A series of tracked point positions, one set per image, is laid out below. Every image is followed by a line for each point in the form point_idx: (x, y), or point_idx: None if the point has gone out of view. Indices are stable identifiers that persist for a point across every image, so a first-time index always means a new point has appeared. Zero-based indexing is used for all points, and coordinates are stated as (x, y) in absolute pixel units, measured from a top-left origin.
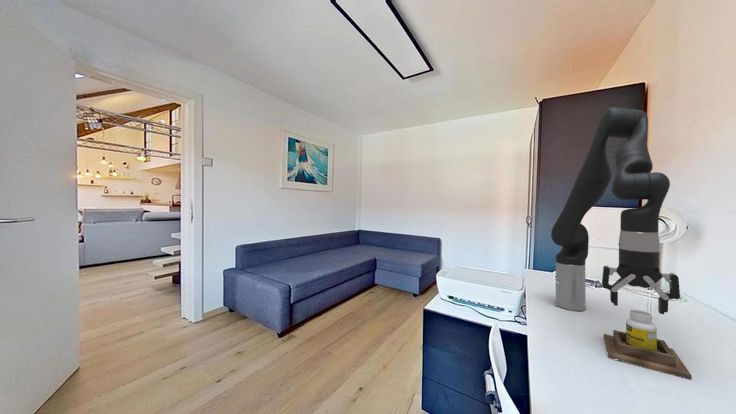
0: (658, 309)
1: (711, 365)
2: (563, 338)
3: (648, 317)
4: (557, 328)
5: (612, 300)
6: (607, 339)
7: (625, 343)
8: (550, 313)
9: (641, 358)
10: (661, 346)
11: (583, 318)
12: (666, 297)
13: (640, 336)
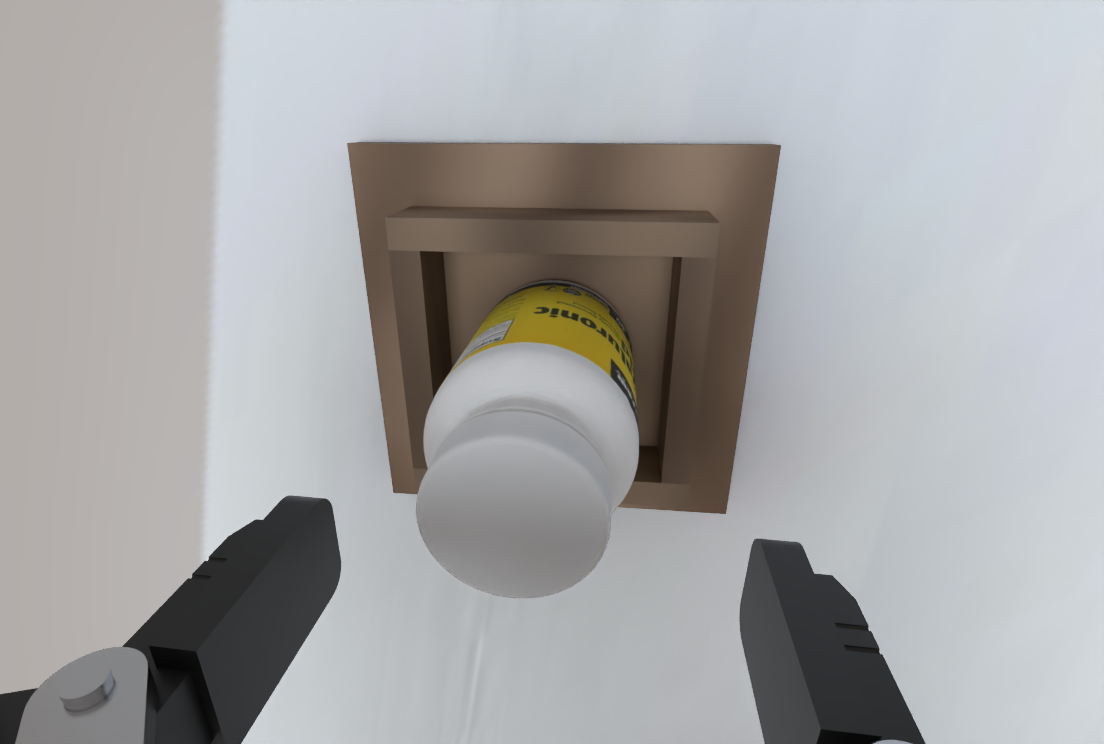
0: (328, 589)
1: (266, 418)
2: (1027, 323)
3: (455, 442)
4: (1015, 488)
5: (834, 607)
6: (721, 431)
7: None
8: (984, 716)
9: (576, 208)
10: None
11: None
12: (63, 686)
13: (557, 320)
